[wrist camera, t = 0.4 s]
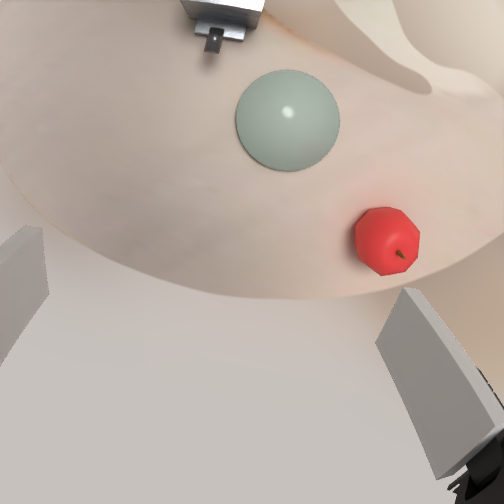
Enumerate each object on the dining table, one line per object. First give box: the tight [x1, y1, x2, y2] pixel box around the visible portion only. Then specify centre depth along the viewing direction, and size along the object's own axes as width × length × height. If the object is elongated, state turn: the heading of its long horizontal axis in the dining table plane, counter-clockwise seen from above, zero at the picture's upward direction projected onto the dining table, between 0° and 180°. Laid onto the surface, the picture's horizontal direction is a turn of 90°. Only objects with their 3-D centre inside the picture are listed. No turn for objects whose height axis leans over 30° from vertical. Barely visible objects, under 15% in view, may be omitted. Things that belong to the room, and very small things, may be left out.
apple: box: [355, 207, 420, 276], centre depth 35 cm, size 8×8×8 cm
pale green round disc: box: [236, 70, 340, 171], centre depth 32 cm, size 11×11×1 cm
